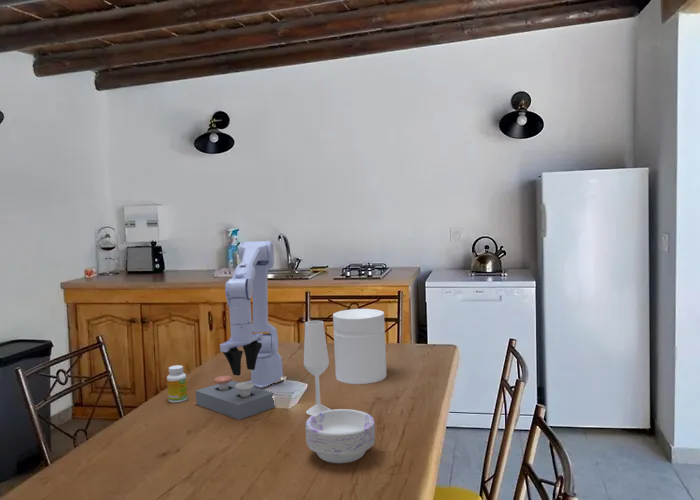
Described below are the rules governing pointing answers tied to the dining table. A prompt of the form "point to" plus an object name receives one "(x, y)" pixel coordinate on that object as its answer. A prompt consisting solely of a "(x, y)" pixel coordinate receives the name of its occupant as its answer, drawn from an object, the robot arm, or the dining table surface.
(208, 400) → the panel
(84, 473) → the dining table surface
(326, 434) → the paper bowls
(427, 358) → the dining table surface
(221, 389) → the red plunger
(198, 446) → the dining table surface
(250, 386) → the grey plunger
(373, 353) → the canister
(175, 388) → the supplement bottle
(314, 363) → the champagne flute
